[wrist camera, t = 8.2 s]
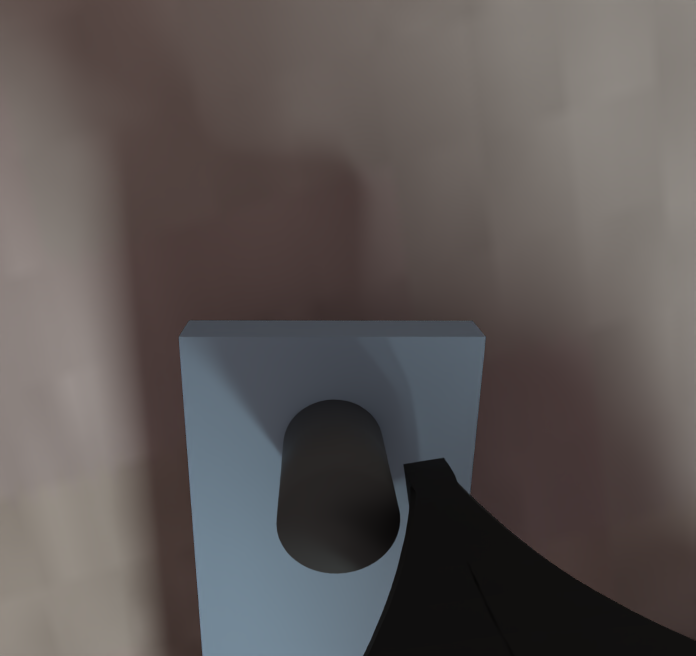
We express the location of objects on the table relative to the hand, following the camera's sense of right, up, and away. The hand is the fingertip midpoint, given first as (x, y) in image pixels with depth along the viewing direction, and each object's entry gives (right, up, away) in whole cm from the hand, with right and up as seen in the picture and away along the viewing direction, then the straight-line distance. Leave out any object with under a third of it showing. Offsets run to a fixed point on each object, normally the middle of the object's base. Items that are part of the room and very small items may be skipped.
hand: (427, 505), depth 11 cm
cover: (-2, -5, +4) cm, 7 cm away
